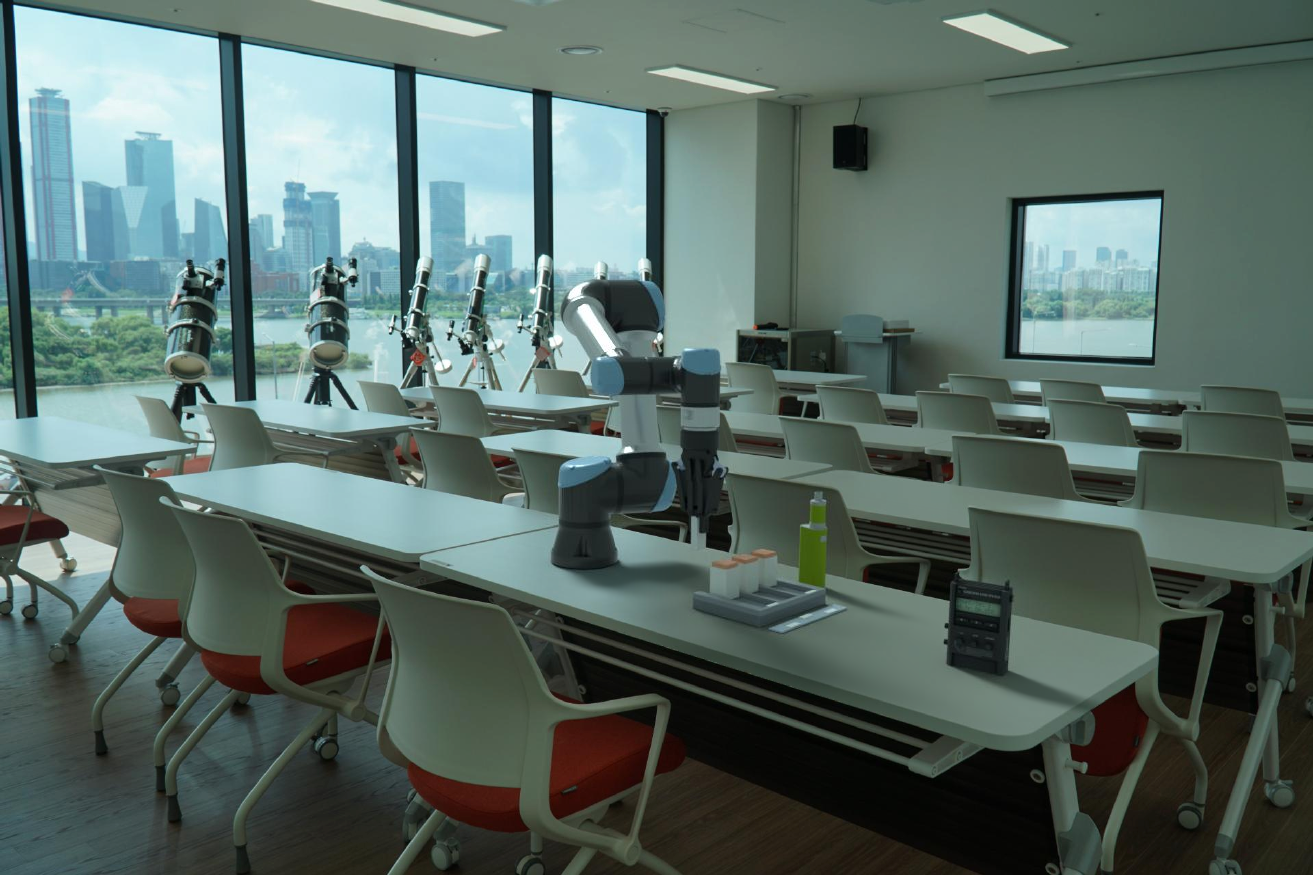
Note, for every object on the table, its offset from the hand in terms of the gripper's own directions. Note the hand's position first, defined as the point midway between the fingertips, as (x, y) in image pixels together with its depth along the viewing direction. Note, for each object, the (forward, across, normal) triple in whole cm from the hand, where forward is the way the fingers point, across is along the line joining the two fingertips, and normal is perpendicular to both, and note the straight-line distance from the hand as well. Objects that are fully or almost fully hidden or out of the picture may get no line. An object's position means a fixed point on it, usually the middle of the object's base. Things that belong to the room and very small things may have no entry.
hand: (698, 548), depth 194 cm
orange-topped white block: (+9, +6, +6) cm, 12 cm away
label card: (+11, +22, +6) cm, 25 cm away
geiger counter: (+12, +56, +4) cm, 57 cm away
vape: (+11, +10, +25) cm, 29 cm away
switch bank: (+11, +10, +6) cm, 16 cm away
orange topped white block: (+9, +6, 0) cm, 11 cm away
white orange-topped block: (+9, +6, +12) cm, 16 cm away
